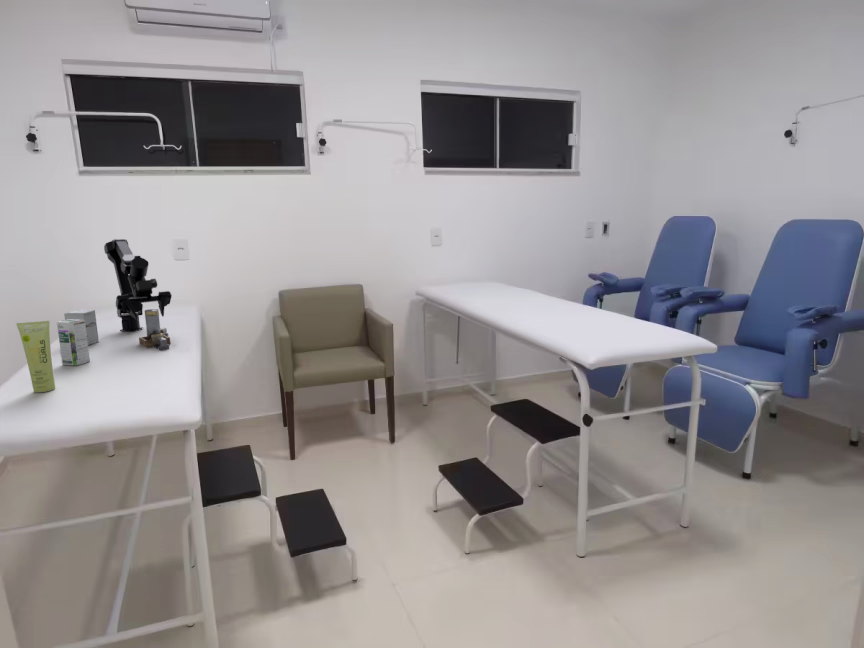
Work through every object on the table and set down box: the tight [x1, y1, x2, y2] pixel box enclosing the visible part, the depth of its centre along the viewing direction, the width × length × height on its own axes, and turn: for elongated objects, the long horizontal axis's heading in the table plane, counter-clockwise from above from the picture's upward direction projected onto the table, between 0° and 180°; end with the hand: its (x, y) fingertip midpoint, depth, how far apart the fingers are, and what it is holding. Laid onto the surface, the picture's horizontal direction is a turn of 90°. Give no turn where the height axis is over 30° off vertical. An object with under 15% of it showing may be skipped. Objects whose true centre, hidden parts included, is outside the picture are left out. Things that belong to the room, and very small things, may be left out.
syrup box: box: [56, 319, 91, 367], centre depth 176 cm, size 6×6×14 cm
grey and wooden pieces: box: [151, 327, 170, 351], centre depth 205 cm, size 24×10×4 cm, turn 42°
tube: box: [15, 320, 56, 393], centre depth 148 cm, size 6×5×20 cm
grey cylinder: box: [144, 308, 161, 340], centre depth 202 cm, size 5×5×13 cm
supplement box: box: [63, 309, 100, 346], centre depth 203 cm, size 7×7×13 cm
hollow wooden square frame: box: [138, 334, 171, 348], centre depth 203 cm, size 9×9×2 cm
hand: (150, 317), depth 204 cm, fingers open, 9 cm apart
